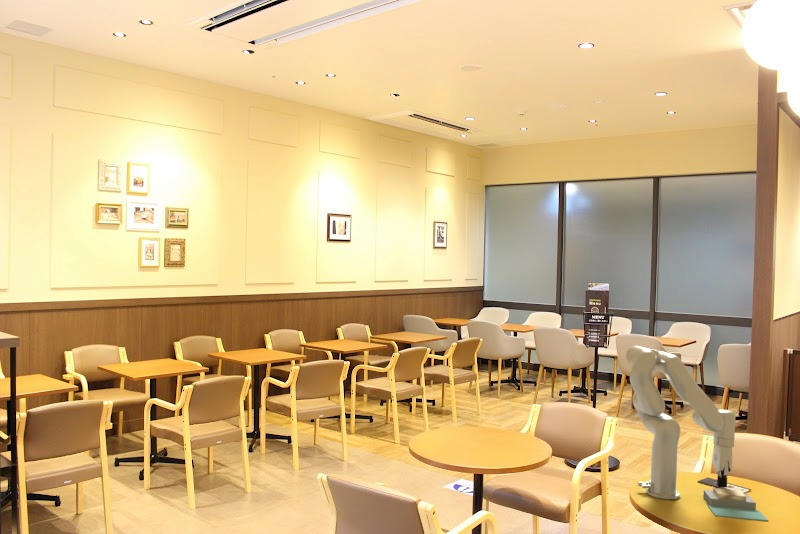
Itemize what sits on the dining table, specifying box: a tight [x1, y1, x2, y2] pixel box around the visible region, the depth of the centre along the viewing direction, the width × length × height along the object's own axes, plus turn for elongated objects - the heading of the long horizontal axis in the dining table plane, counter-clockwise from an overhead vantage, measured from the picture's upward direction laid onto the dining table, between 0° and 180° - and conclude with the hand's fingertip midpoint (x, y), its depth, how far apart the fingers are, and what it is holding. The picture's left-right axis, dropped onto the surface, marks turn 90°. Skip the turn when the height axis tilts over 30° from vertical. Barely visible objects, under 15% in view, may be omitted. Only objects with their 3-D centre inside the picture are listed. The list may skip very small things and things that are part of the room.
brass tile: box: [712, 487, 746, 501], centre depth 256 cm, size 10×7×2 cm
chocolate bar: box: [697, 477, 752, 494], centre depth 277 cm, size 9×1×18 cm
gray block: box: [703, 489, 757, 510], centre depth 256 cm, size 16×10×3 cm, turn 80°
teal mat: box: [707, 504, 770, 522], centre depth 246 cm, size 18×10×1 cm, turn 80°
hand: (721, 486), depth 266 cm, fingers closed
